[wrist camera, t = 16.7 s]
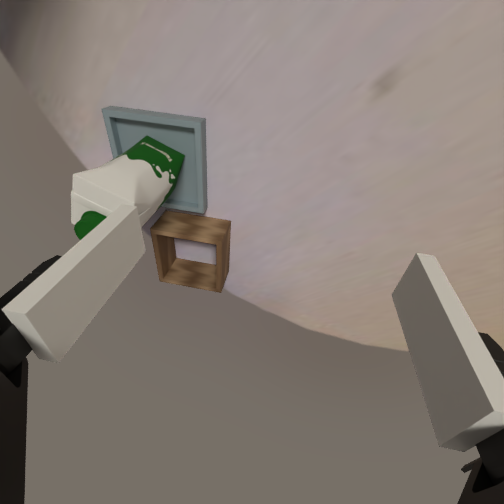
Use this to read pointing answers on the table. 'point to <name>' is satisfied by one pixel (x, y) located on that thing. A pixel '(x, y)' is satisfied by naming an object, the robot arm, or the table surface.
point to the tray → (172, 135)
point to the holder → (196, 231)
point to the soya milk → (125, 184)
